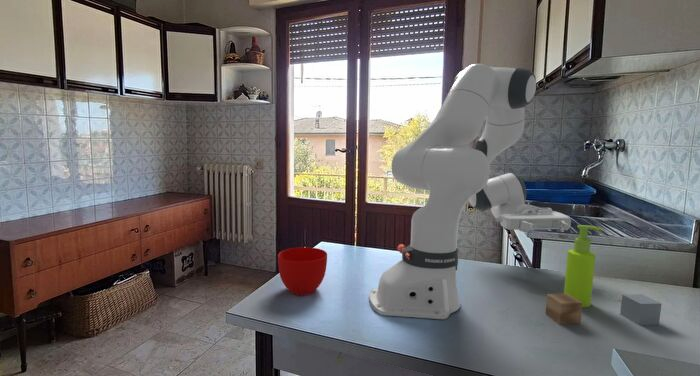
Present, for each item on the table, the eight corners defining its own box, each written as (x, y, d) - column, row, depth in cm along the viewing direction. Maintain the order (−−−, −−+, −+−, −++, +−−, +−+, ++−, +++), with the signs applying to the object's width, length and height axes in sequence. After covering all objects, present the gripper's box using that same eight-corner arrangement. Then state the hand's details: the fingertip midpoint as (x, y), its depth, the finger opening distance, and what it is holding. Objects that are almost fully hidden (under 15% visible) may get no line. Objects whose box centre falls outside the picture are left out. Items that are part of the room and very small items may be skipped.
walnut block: (559, 324, 81) (561, 303, 80) (545, 314, 86) (547, 294, 85) (580, 324, 81) (582, 302, 81) (565, 313, 86) (567, 293, 86)
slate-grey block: (638, 325, 82) (640, 303, 81) (620, 314, 86) (622, 294, 86) (658, 324, 82) (661, 303, 81) (639, 314, 87) (641, 294, 86)
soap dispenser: (595, 310, 88) (604, 229, 86) (562, 303, 92) (570, 226, 89) (594, 302, 93) (602, 225, 91) (563, 295, 97) (570, 222, 94)
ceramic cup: (337, 279, 105) (338, 245, 104) (316, 303, 89) (316, 264, 88) (296, 274, 109) (296, 241, 108) (268, 296, 93) (268, 258, 91)
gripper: (493, 208, 117) (516, 217, 103) (554, 207, 118) (584, 216, 105) (492, 227, 118) (515, 238, 104) (552, 226, 119) (582, 237, 106)
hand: (550, 227), depth 104 cm, fingers open, 8 cm apart
